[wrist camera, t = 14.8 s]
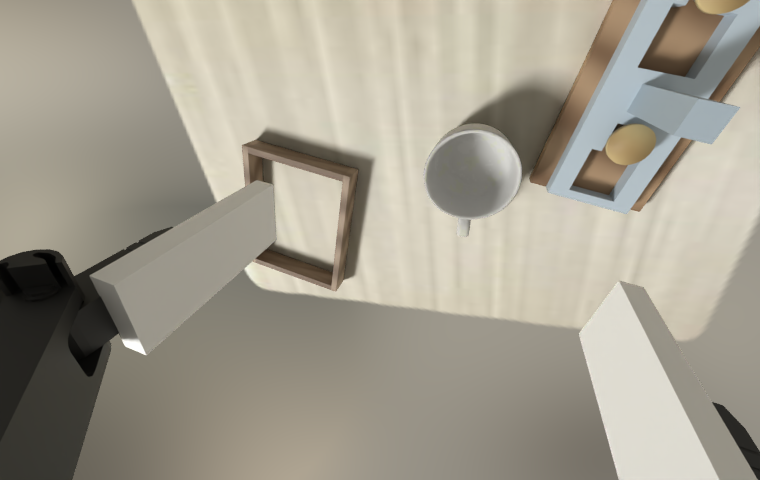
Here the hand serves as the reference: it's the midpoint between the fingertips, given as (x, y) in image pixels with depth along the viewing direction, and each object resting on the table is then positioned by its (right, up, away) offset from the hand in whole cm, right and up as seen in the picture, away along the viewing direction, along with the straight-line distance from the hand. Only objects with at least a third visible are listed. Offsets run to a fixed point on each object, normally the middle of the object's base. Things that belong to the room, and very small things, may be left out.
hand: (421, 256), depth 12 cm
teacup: (+11, +10, +31) cm, 35 cm away
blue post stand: (+26, +16, +20) cm, 36 cm away
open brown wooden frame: (-15, +5, +44) cm, 47 cm away
